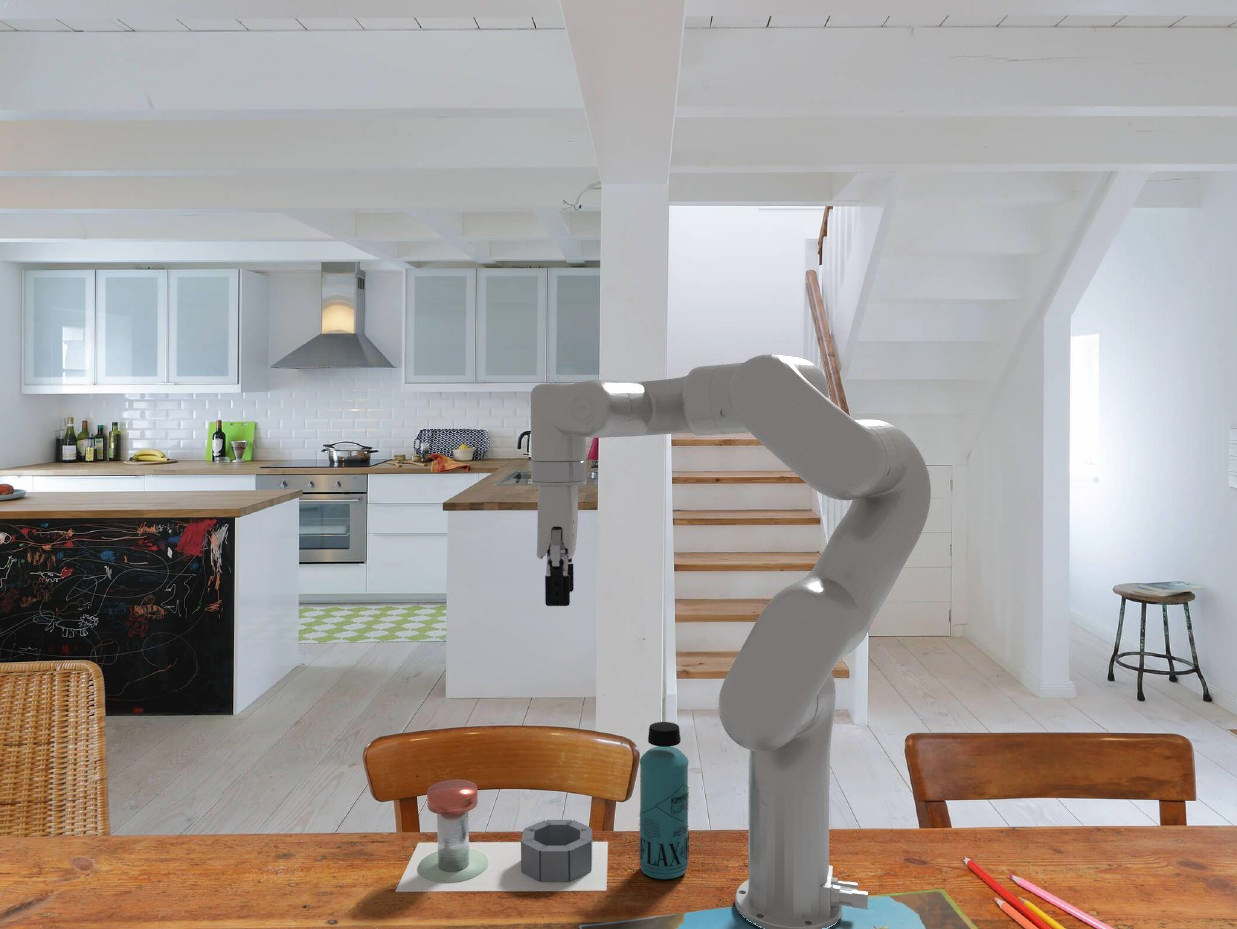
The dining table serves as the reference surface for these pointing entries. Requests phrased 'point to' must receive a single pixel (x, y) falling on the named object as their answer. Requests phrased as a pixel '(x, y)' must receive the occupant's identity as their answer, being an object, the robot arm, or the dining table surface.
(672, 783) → the beverage bottle
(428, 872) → the board
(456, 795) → the copper domed post
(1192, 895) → the dining table surface
